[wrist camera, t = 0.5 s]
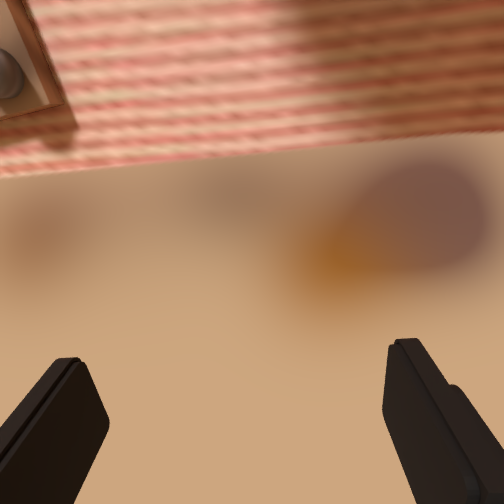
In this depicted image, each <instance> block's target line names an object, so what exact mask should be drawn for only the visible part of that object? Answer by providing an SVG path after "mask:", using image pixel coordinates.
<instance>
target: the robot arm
mask: <svg viewBox="0 0 504 504" xmlns="http://www.w3.org/2000/svg"><path fill="white" fill-rule="evenodd" d="M382 411H383V417H384V420H385V423H386V426H387V428H388V431H389V433H390V436H391V438H392V441H393V444H394V446H395V449H396V451H397V454H398V457H399V459H400V462H401V464H402V467H403V470H404V472H405V475H406V477H407V480H408V482H409V485H410V488H411V490H412V493H413V495H414V498H415V501H416V503H417V504H504V449H503V448H502V446H501V445H500V444H499V442H498V441H497V439H496V438H495V436H494V435H493V434H492V432H491V431H490V429H489V428H488V426H487V425H486V424H485V422H484V421H483V419H482V418H481V417H480V415H479V414H478V412H477V411H476V409H475V408H474V407H473V405H472V404H471V402H470V401H469V399H468V398H467V397H466V395H465V394H464V392H463V391H462V390H461V389H460V388H459V387H458V386H456V385H452V384H451V385H449V384H448V382H447V381H446V379H445V378H444V376H443V375H442V373H441V372H440V370H439V369H438V367H437V366H436V364H435V363H434V361H433V360H432V358H431V357H430V355H429V354H428V352H427V351H426V349H425V348H424V346H423V345H422V343H421V342H420V341H419V339H417V338H408V339H396V340H395V342H394V344H392V345H390V346H389V348H388V357H387V367H386V376H385V386H384V396H383V405H382ZM109 423H110V422H109V417H108V415H107V413H106V410H105V408H104V406H103V403H102V401H101V399H100V396H99V394H98V392H97V389H96V387H95V384H94V382H93V380H92V377H91V375H90V373H89V370H88V368H87V366H86V364H85V363H84V362H81V360H80V359H79V358H78V357H74V358H59V359H57V360H55V361H54V362H53V363H52V365H51V366H50V367H49V368H48V370H47V371H46V372H45V373H44V374H43V376H42V377H41V378H40V380H39V381H38V382H37V383H36V384H35V385H34V387H33V388H32V389H31V390H30V392H29V393H28V394H27V395H26V396H25V398H24V399H23V400H22V402H21V403H20V404H19V405H18V406H17V408H16V409H15V410H14V411H13V412H12V414H11V415H10V416H9V417H8V419H7V420H6V421H5V422H4V423H3V425H2V426H1V427H0V504H74V502H75V500H76V497H77V495H78V493H79V491H80V489H81V487H82V485H83V482H84V481H85V479H86V477H87V474H88V472H89V470H90V468H91V466H92V463H93V462H94V460H95V458H96V455H97V453H98V451H99V449H100V447H101V445H102V443H103V441H104V439H105V437H106V434H107V432H108V430H109Z"/></svg>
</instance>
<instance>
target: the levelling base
mask: <svg viewBox="0 0 504 504" xmlns="http://www.w3.org/2000/svg"><path fill="white" fill-rule="evenodd" d="M62 104H64V102H63V100H62V98H61V95H60V93H59V90H58V88H57V86H56V83H55V81H54V78H53V76H52V74H51V71H50V69H49V66H48V64H47V62H46V59H45V57H44V54H43V52H42V50H41V47H40V45H39V42H38V40H37V38H36V35H35V33H34V31H33V28H32V26H31V23H30V21H29V19H28V16H27V14H26V11H25V9H24V7H23V4H22V2H21V0H0V120H4V119H8V118H12V117H16V116H19V115H23V114H27V113H31V112H35V111H39V110H43V109H47V108H51V107H55V106H58V105H62Z"/></svg>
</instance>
